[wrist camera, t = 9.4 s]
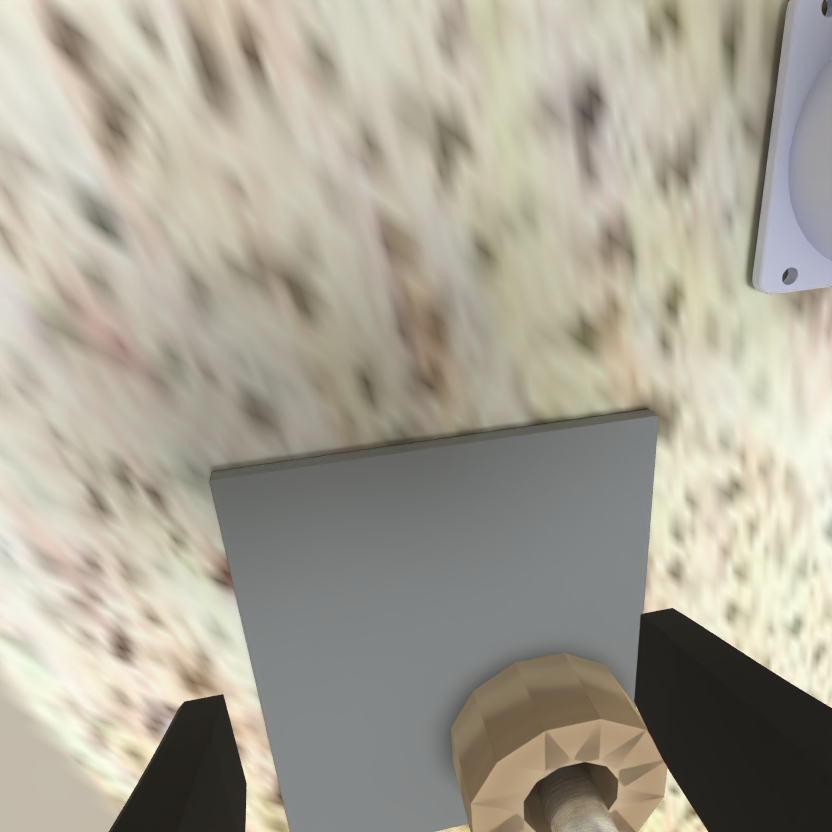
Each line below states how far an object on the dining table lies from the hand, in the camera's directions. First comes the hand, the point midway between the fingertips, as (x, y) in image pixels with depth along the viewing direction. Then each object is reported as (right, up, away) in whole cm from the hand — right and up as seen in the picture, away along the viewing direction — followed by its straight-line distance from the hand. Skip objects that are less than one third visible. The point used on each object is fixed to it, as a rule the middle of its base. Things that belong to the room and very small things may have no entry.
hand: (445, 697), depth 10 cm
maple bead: (+4, -7, +13) cm, 16 cm away
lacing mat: (+1, -4, +12) cm, 13 cm away
